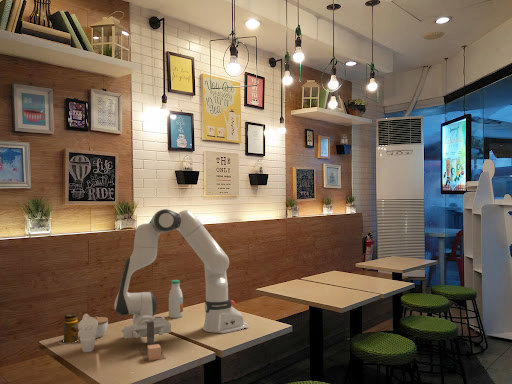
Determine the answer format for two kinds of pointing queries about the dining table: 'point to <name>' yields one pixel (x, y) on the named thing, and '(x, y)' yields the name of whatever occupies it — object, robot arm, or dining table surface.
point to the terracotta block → (154, 352)
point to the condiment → (70, 329)
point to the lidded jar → (101, 326)
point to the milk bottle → (175, 300)
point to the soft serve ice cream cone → (87, 332)
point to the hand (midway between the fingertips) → (149, 334)
